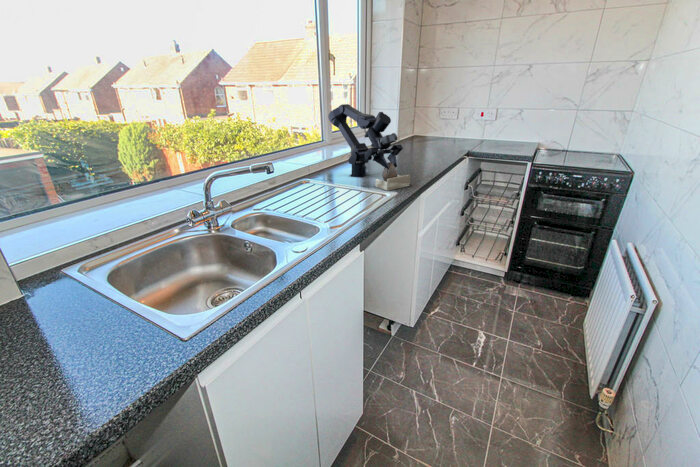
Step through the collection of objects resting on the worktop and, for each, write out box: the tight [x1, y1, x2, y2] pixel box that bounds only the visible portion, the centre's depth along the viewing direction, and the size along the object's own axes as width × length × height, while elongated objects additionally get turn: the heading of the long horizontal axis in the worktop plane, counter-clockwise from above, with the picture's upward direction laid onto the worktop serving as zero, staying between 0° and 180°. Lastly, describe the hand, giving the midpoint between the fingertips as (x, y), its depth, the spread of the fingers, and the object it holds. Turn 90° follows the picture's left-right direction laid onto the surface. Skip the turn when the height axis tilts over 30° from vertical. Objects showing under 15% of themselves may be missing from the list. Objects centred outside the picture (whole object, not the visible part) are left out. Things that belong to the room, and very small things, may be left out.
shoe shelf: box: [374, 174, 411, 192], centre depth 147 cm, size 8×13×5 cm, turn 126°
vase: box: [381, 161, 399, 182], centre depth 147 cm, size 7×7×9 cm
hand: (392, 167), depth 145 cm, fingers closed on vase, 4 cm apart
